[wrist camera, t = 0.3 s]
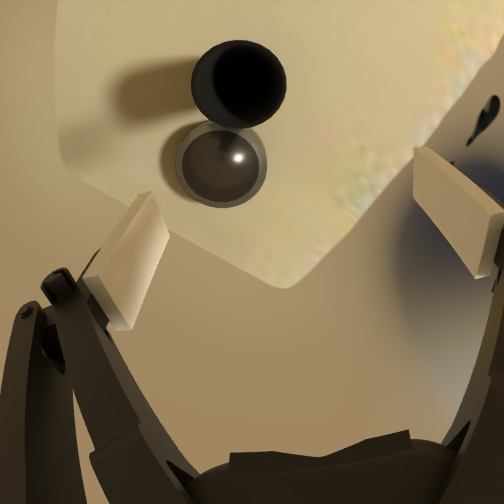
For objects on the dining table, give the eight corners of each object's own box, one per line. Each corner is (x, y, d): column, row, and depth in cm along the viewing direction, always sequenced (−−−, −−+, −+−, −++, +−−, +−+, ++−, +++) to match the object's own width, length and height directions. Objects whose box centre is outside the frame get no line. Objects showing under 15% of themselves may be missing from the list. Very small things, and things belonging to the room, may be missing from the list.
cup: (270, 112, 35) (274, 137, 25) (207, 100, 34) (184, 121, 24) (284, 52, 30) (295, 50, 21) (218, 40, 30) (199, 34, 20)
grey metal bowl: (169, 130, 36) (163, 135, 34) (257, 110, 35) (256, 114, 33) (193, 205, 43) (189, 215, 40) (273, 191, 41) (274, 200, 39)
